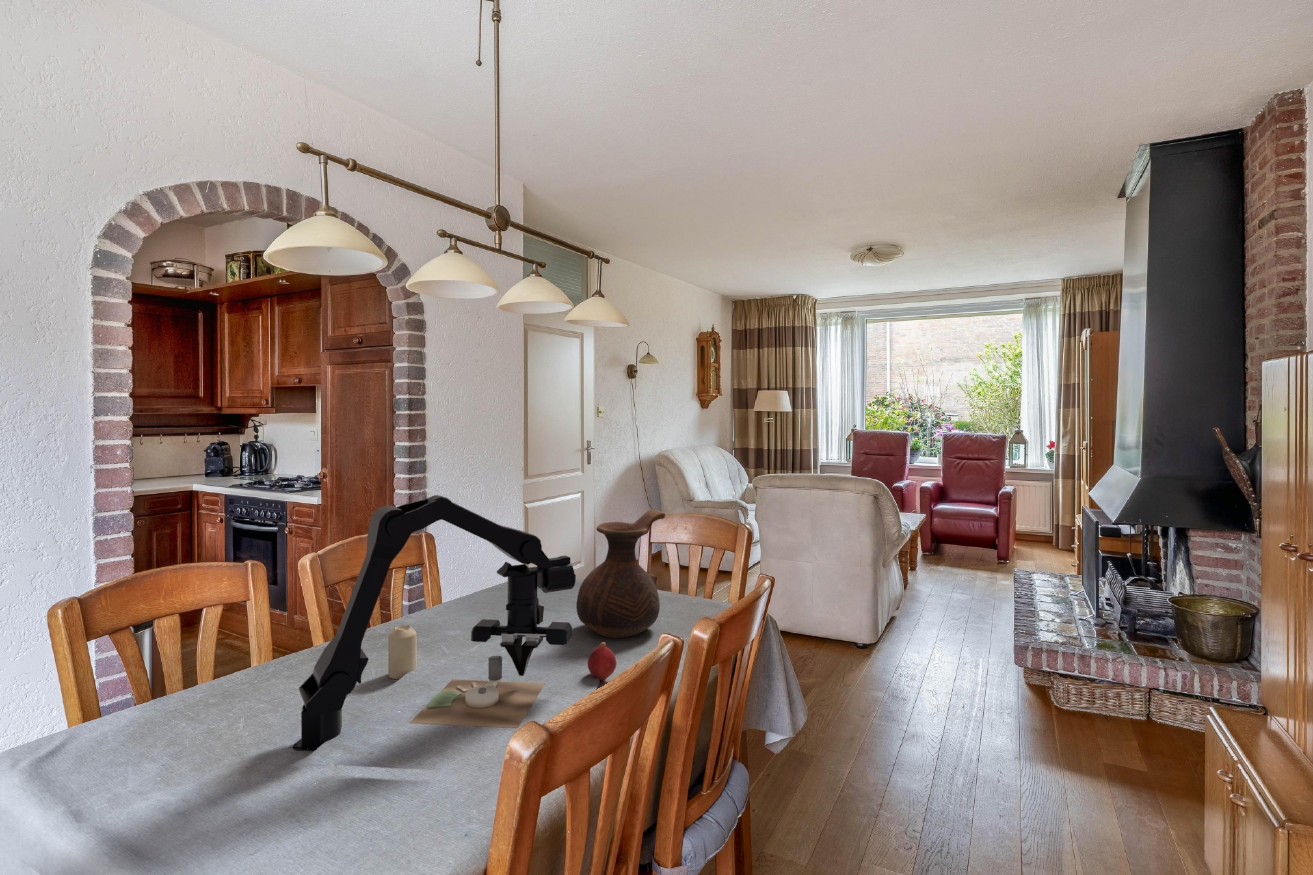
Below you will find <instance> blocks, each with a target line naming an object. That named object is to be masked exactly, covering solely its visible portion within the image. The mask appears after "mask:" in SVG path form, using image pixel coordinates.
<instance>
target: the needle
mask: <svg viewBox="0 0 1313 875" xmlns="http://www.w3.org/2000/svg"><path fill="white" fill-rule="evenodd" d="M487 663H488V670H487V671H488V674H487V675H488V680H487V681H488V682H487V683H486V685H485V686H479V687H474V688H471V689H469V690H468V691H467V692H466V693H465V703H466V705H467V706H469V707H473V708H484V707H489V706H492V705H494V704H496V703H497V702H498V701H499V690H498V689H497V688H496V686H497V684H498V683H499V682H502V679H503V656H502V655H497V654H496V655H491V656H489V657H488V662H487Z"/></svg>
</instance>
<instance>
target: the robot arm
mask: <svg viewBox="0 0 1313 875" xmlns="http://www.w3.org/2000/svg"><path fill="white" fill-rule="evenodd" d="M438 521H444V522H447V523H449V524H451V525H452V526H455V527H457V528H459V529H462V530H464V531H466V532H468V533H469V534H472V535H474V536H476V537H479V538H480V539H483V540H485V541H487V542H488V543H490V544H491V545H492V546H494V547H495V548H496V549H497V550H498V551H500V552H501V553H503V554H504V555H506V556H507V557H508V558H510V559H511V560H514V561H516V562H519V563H521V564H515V565H514V564H513V565H512V564H511V563H510V562H507V561H505V562H504V563H503V565H501V567H500V568H498V569H497V571H496V574H497V575H500V576H501V577H503V578H507V603H506V604H505V611H507V615H506V616H507V620H506V621H507V624H506V625H501V622H500V620H499V619H488V618H487V619H485V618H484V619H481V620H479V622H478V623H477V624H475V625H474V626H473V627H471V632H470V633H471V634H470V638H471V640H470V641H471V642H475V643H476V642H478V643H487V642H488V641H489V639H491V637H492V636H499V637H501V642H500V644H499V646H500V647H501V648H504V649H505V650H506V651H507V653H508V655H509V656H510V658H511V660H512V663H513V664H514V667H515V669H516V671H517V674H518V676H519V677H524V676H525V674H526V671H527V669H528V666H529V662H530V659H531V656H532V654H533V652H534V649H537V648H538V647H539V646H540V645H541V643H542V642H543V641H544V638H545V641H546V643H547V644H549V645H550V646H551V645H553V646H554V645H556V646H565V645H567V644H568V642H569V641H570V639H571V638H572V636H573V626H572V624H571V623H570V622H568V621H552V622H551V623H550V624H549V625H548V626H538V625H540V624H541V623H543V622H544V612H545V606H543V605H541V604H539V601H540V600H539V597H538V589H541V591H542V592H543V593H545V594H546V593H547V594H548V593H554V592H555V593H556V592H561V591H569V590H572V589H573V588H574V587H575V585H576V581H577V580H576V577H577V576H576V575H577V574H576V573H575V569H574V566H573V565H572V563H571V557H570V556H568V555H560V556H557V557H548V556H547V555H546V553H545V552H544V551H543V549H542V548H543V547H542V546H543V545H542V542H541V539H540V538H539V537H538V536H537V535H534V534H531V533H528V532H526V531H523V530H520V529H516V528H512V527H510V526H506V525H501V524H498V523H497V522H494V521H492V520H491V519H489V518H486V517H484V516H482V515H480V514H477V513H476V512H474V511H472V510H469V509H468V508H465V507H464V506H462V505H459V504H457V503H456V502H453V501H451V499H449V498H448V497H446V496H442V495H439V494H437V495H432V496H430V497H427V498H424V499H421V500H417V501H416V500H415V501H412V502H408V503H404V504H400V505H398V506H395V505H384V506H383V505H382V506H381V507H379V508H378V509H376V510H375V511H374V512H373V513H372V515H371V517H370V521H369V525H368V531H367V535H366V537H367V539H366V553H365V557H364V560H363V562H362V564H361V568H360V569H359V573H358V576H357V578H356V581H355V584H354V586H353V589H352V591H351V594H350V597H349V600H348V602H347V605H346V608H345V610H344V613H343V615H342V618H341V620H340V624H339V625H338V628H337V631H336V633H335V635H334V637H333V638H332V639H331V640H330V642H328V644H327V645H326V647H325V648H324V650H323V651H322V653H321V654H320V656H319V658H318V660H317V661H316V663H315V664H314V667H313V671H312V673H311V674H310V675H309V677H307V678H306V679H305V681H304V682H303V683H301V684H300V686H299V687H298V691H299V693H300V696H301V698H302V701H303V705H302V708H301V709H302V710H301V712H300V715H301V717H300V718H301V719H300V722H301V723H300V724H301V726H300V728H301V729H300V730H301V737H300V739H298V740H297V741H296V742H294V743H293V744H292V746H291V747H292V750H303V751H304V750H307V751H316V750H318V749H319V748H320V747H321V746H322V745H324V744H325V743H326V742H328V741H331V740H332V739H335V738H337V737H338V736H339V735H340V734H341V733H342V732H341V731H342V726H343V724H342V723H343V719H342V718H343V716H342V715H343V714H342V713H343V706H344V703H345V700H346V698H347V696H348V695H350V694H351V693H352V692H353V691H354V689H355V687H356V685H357V683H358V684H361V683H362V675H363V672H364V670H365V669H366V666H367V665H368V662H369V657H368V656H367V655H366V653H365V651H364V650H363V649H362V643H363V639H364V637H365V635H366V632H367V629H368V627H369V624H370V621H371V619H372V617H373V616H372V615H373V613H374V610H375V609H376V608H375V607H376V606H377V602H378V599H379V597H380V595H381V594H380V593H381V592H382V589H383V586H384V583H385V580H386V578H387V575H388V572H389V570H390V567H391V565H392V562H393V561H394V560H395V558H396V557H397V556H398V555H399V554H400V553H401V551H402V550H403V549H404V547H405V545H406V544H407V542H408V540H409V538H410V537H411V535H412V534H413V533H415V532H418V531H421V530H423V529H425V528H427V527H429V526H431V525H433V524H434V523H436V522H438ZM531 564H532V565H534V566H532V567H530V566H528V565H531ZM523 638H524V639H525V640H524V642H523Z"/></svg>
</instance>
